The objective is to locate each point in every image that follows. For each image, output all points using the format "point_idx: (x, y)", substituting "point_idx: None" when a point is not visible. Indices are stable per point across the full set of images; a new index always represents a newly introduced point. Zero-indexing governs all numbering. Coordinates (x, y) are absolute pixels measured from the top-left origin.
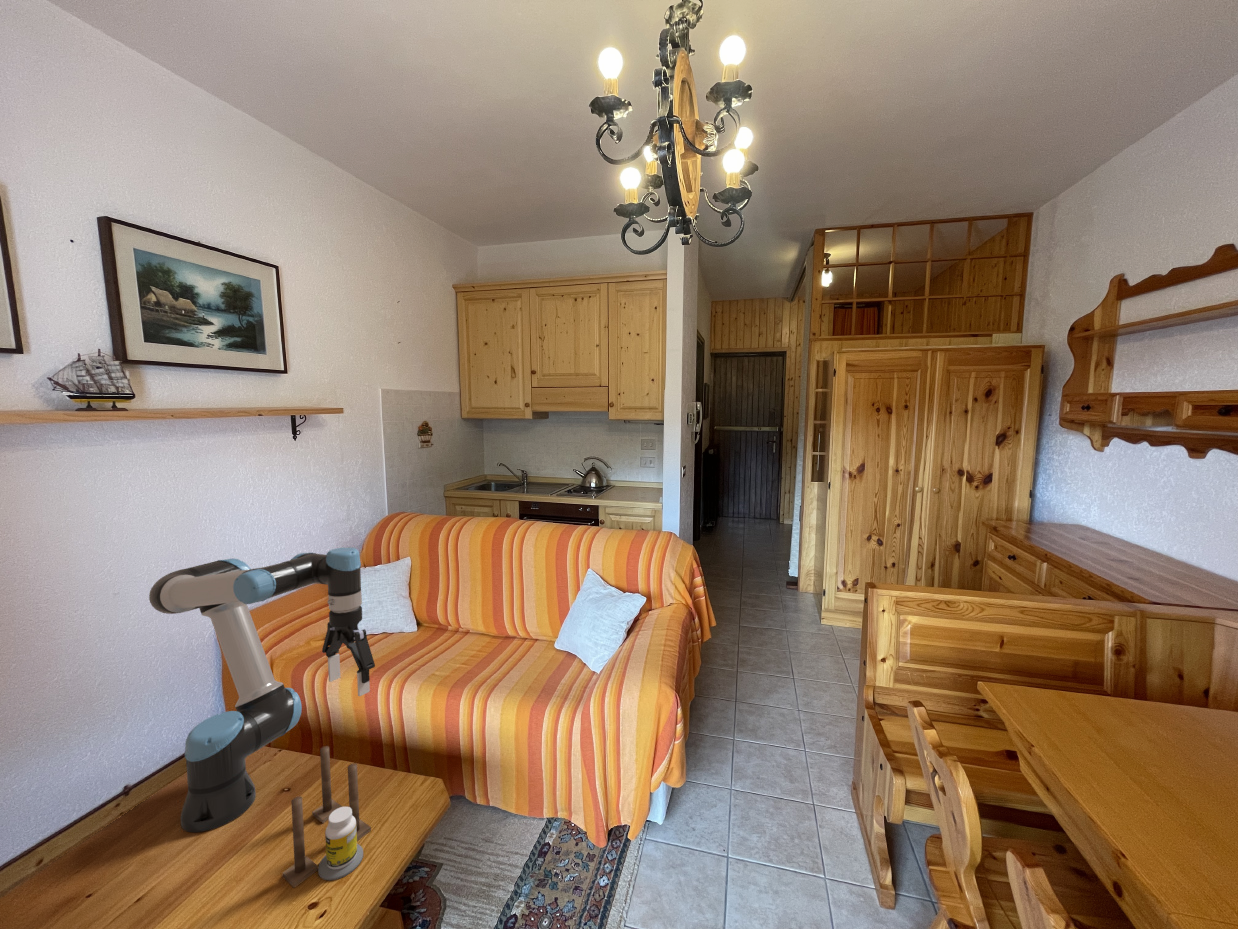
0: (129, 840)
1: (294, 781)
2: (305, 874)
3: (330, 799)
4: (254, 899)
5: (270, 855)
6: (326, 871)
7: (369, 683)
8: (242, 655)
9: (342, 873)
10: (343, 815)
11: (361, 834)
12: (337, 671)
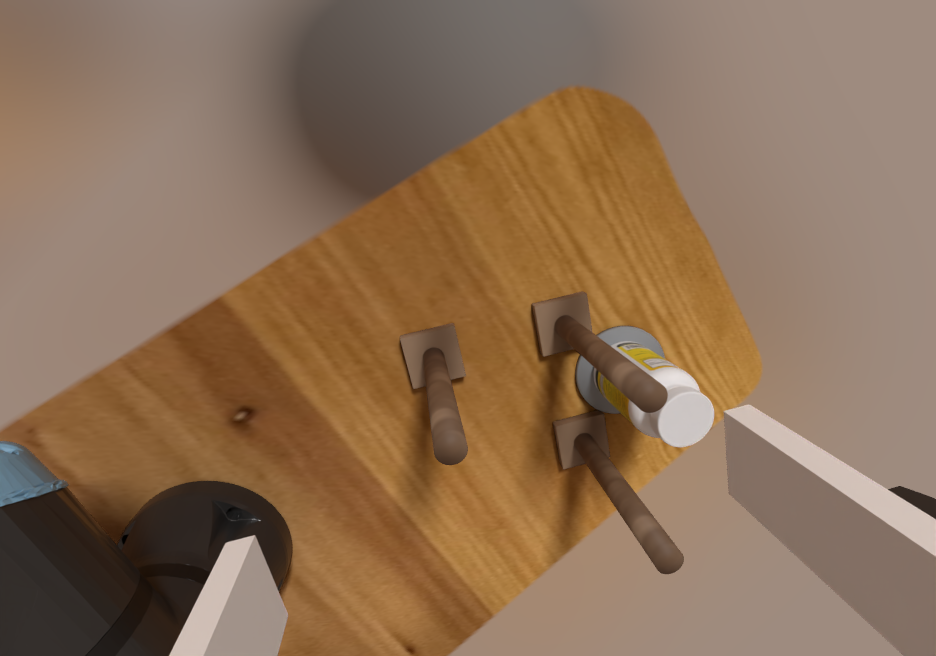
0: None
1: (216, 393)
2: (605, 436)
3: (445, 362)
4: (573, 507)
5: (477, 474)
6: None
7: (815, 445)
8: None
9: None
10: (698, 415)
11: (589, 317)
12: (236, 623)
